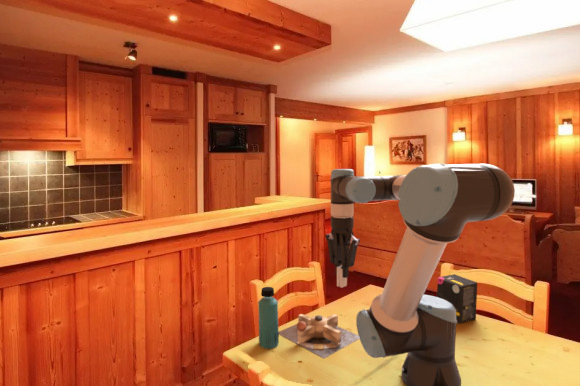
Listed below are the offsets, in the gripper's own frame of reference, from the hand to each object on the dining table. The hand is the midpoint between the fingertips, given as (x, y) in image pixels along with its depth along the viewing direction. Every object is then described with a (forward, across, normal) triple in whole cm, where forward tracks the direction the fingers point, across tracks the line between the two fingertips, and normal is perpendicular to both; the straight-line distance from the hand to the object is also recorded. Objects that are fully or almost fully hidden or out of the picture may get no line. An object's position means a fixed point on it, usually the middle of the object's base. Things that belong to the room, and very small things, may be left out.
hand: (341, 285), depth 122 cm
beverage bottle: (+19, +12, +22) cm, 31 cm away
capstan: (+17, +5, +6) cm, 19 cm away
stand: (+18, +5, +6) cm, 20 cm away
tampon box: (+19, -19, -45) cm, 52 cm away
